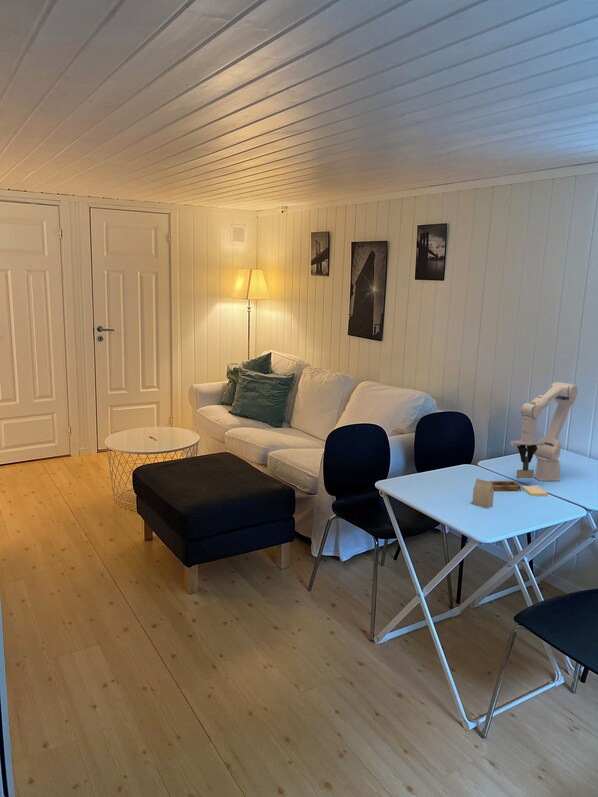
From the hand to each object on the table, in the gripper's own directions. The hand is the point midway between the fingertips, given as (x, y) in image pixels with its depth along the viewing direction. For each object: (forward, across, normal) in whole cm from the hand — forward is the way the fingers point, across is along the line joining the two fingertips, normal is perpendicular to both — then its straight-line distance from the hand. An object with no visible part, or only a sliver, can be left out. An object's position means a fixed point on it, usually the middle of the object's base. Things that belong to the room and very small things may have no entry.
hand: (525, 461), depth 266 cm
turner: (+7, 0, 0) cm, 7 cm away
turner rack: (+10, +11, +4) cm, 16 cm away
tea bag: (+10, +28, +23) cm, 38 cm away
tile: (+10, 0, +6) cm, 11 cm away
